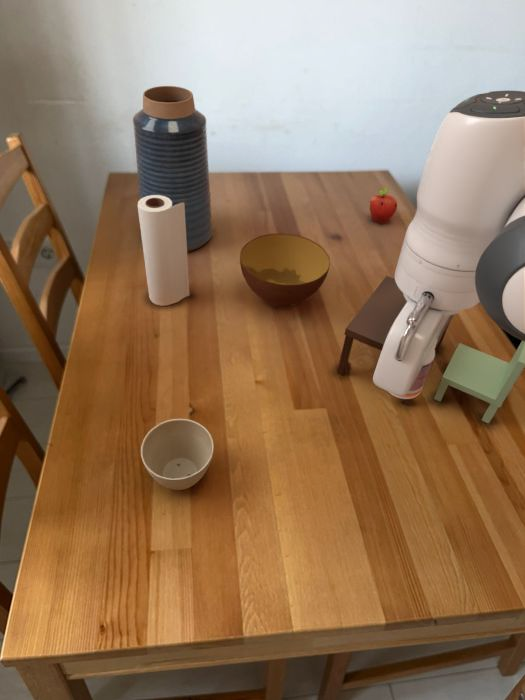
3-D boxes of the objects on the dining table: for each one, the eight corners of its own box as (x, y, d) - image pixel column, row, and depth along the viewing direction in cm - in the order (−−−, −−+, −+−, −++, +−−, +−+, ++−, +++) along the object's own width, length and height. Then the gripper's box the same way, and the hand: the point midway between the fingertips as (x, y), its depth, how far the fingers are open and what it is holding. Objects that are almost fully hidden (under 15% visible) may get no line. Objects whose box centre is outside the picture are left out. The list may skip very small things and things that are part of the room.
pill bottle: (426, 380, 63) (446, 329, 57) (414, 406, 60) (434, 355, 54) (389, 365, 64) (405, 314, 58) (375, 389, 61) (391, 338, 55)
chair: (503, 388, 92) (539, 326, 82) (489, 425, 86) (526, 364, 75) (449, 365, 95) (477, 303, 85) (432, 399, 89) (459, 337, 79)
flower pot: (131, 482, 75) (125, 454, 70) (176, 436, 81) (173, 407, 76) (184, 519, 71) (181, 492, 66) (227, 468, 77) (228, 440, 72)
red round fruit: (365, 212, 134) (373, 176, 127) (390, 214, 135) (400, 178, 128) (368, 228, 129) (376, 191, 122) (395, 230, 129) (405, 193, 122)
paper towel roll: (143, 300, 104) (130, 204, 89) (160, 284, 108) (151, 190, 93) (172, 312, 102) (164, 216, 87) (189, 296, 106) (184, 201, 91)
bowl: (225, 284, 109) (225, 243, 102) (296, 265, 116) (301, 226, 109) (262, 335, 99) (266, 294, 92) (339, 311, 105) (347, 271, 98)
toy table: (440, 347, 99) (459, 303, 91) (408, 407, 88) (426, 363, 80) (374, 319, 104) (386, 275, 96) (335, 373, 93) (345, 328, 85)
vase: (184, 262, 114) (174, 116, 92) (128, 238, 119) (106, 95, 97) (225, 231, 124) (226, 92, 102) (172, 210, 130) (162, 74, 108)
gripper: (443, 342, 43) (403, 440, 52) (499, 235, 56) (458, 329, 65) (372, 314, 45) (347, 414, 54) (442, 217, 58) (411, 311, 67)
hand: (408, 367), depth 60 cm, fingers closed on pill bottle, 5 cm apart
